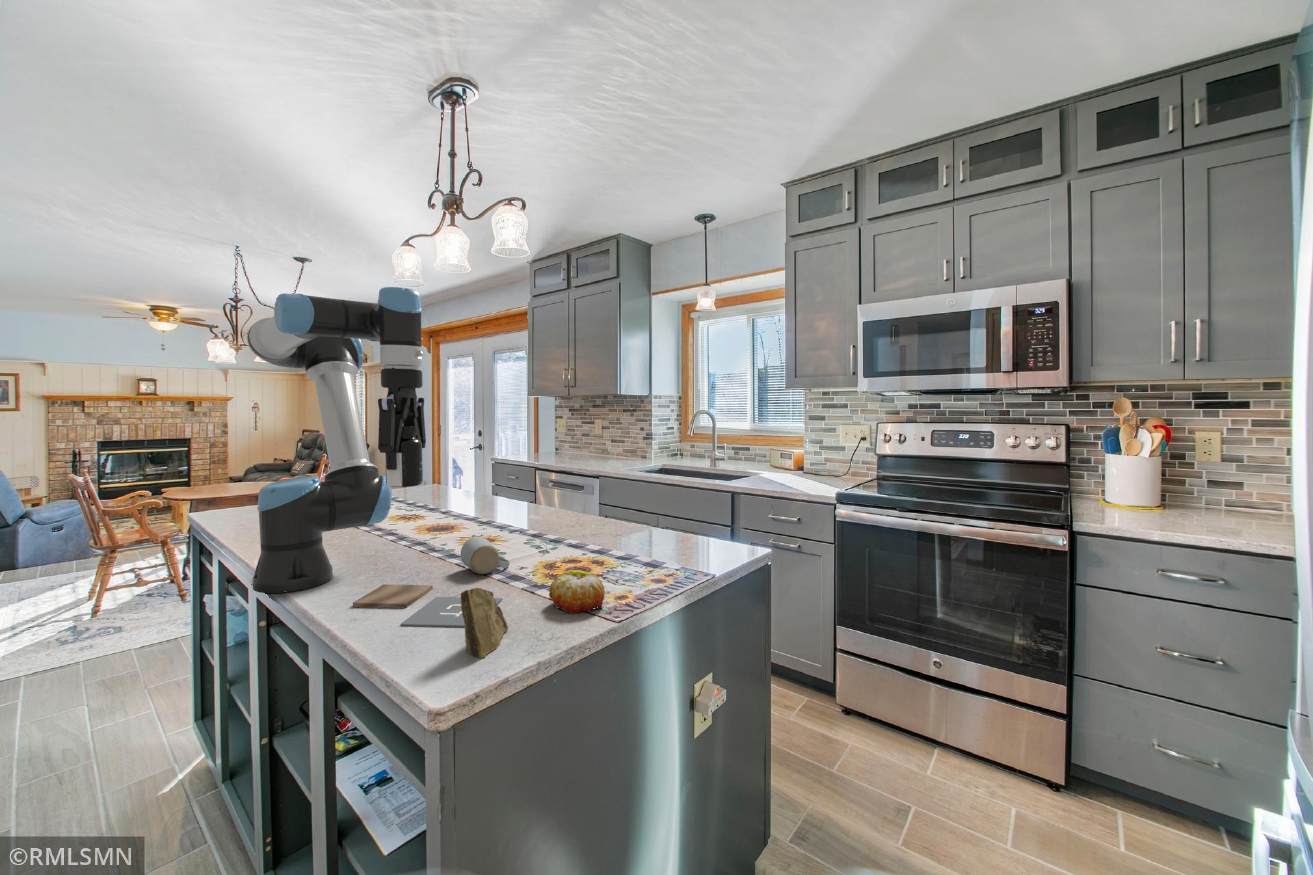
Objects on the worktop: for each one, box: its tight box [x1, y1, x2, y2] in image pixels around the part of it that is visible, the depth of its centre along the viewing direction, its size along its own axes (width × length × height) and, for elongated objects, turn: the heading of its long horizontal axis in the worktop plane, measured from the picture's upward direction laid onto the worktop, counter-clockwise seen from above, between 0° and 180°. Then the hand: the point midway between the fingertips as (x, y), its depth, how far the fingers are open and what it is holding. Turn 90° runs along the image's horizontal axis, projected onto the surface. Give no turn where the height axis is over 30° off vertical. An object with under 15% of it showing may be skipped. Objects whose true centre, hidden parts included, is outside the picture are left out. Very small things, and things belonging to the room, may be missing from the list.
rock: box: [460, 587, 509, 659], centre depth 94 cm, size 11×9×10 cm
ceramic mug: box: [460, 536, 511, 575], centre depth 134 cm, size 11×8×8 cm
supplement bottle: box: [384, 425, 424, 488], centre depth 112 cm, size 7×7×12 cm
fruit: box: [548, 569, 606, 614], centre depth 111 cm, size 11×10×8 cm
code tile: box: [400, 596, 504, 628], centre depth 107 cm, size 14×14×1 cm
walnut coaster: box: [352, 584, 433, 609], centre depth 115 cm, size 11×11×1 cm
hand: (404, 482), depth 112 cm, fingers closed on supplement bottle, 7 cm apart
